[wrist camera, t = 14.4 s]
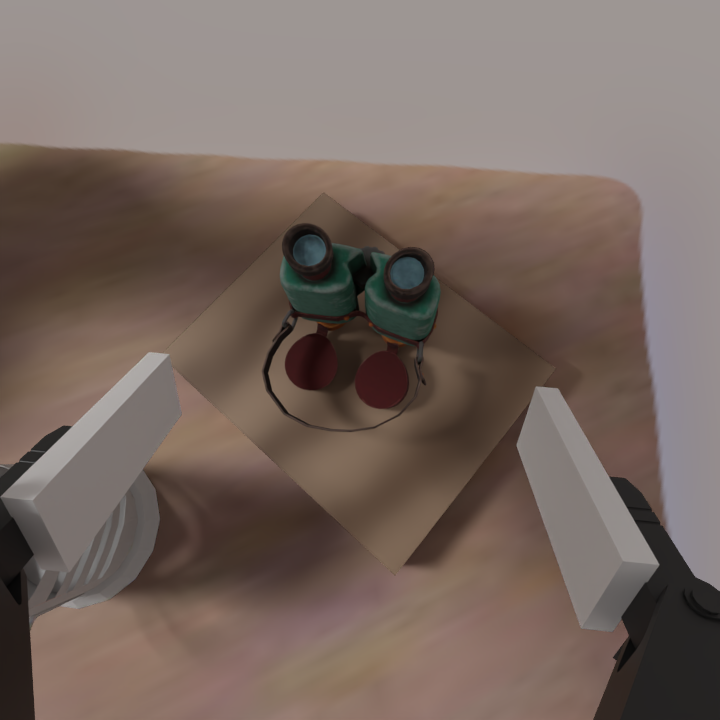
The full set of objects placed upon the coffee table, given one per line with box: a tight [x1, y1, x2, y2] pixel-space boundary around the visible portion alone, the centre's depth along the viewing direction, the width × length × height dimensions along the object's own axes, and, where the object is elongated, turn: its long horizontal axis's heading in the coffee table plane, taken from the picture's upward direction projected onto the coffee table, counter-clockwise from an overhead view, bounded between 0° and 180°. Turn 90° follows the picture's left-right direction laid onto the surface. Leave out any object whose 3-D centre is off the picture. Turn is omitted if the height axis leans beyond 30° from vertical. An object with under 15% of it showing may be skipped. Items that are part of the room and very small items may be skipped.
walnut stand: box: [162, 193, 556, 575], centre depth 28 cm, size 20×16×2 cm
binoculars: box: [262, 223, 441, 432], centre depth 22 cm, size 9×11×10 cm
